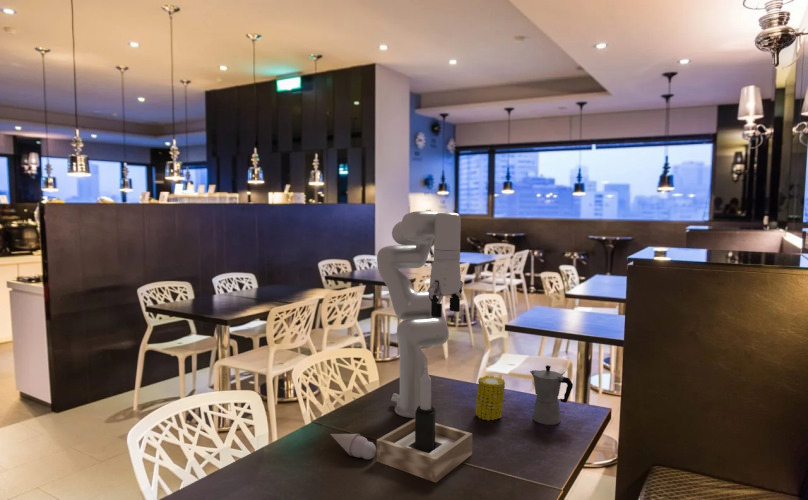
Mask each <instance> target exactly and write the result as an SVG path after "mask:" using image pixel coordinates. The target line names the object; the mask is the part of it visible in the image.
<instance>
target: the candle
mask: <svg viewBox="0 0 808 500" xmlns="http://www.w3.org/2000/svg"><path fill="white" fill-rule="evenodd" d="M424 369H425V370H424V373H423V376H422V377H421V379H420V406H418V408H417V410H416V412H415V449H417V450H420V451H423V452H426V453H430V452H432V451H433V450H435V423H436V408H434V406H433V405H432V378H431V376H430V375H429V370H428V371H427V367H424Z"/></svg>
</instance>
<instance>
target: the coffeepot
mask: <svg viewBox="0 0 808 500" xmlns="http://www.w3.org/2000/svg"><path fill="white" fill-rule="evenodd" d="M551 368H552V367H551V365H548V364H547V365H545V369H542V370H536V369H534V370H530V371H529V373H530V374H531V375H532V377H533V382H534V390H535V391H534V392H535V395H536V399H535V402H534V406H533V407H534V409H533V414H532V416H531V417H532V419H533V421H534V422H536V423H539V424H540V425H541V424H542V425H549V426H551V425H552V426H553V425H554V426H555V425H558V424H560V422H561V421H562V416H561V415H562V414H561V411H560V409H561V408H560V403H559V401H560V402H561V403H563V404H564V403H565V404H566V403H567V402H568V400H569V397H570V395H571V392H572V390H573V387H574V384H573V382H572V381H571V379H570V378H569V377H567V376H564V375H563V374H562V373H559V372H557V371H555V370H554V371H553V370H551ZM562 384H566V389H565V392H564V393H563V394H564V396H563V398H560V399H559V400H558V398H559V394H560V391H561V385H562Z"/></svg>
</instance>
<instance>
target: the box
mask: <svg viewBox="0 0 808 500" xmlns="http://www.w3.org/2000/svg"><path fill="white" fill-rule="evenodd" d="M472 455H473V433H471V432H468V431H465V430H461V429H459V428H454V427H451V426H447V425H444V424H440V423H437V422H435V450H433V451H432V452H430V453H426V452H423V451H420V450H417V449H415V418H412V419H411V420H409V421H408V422H405V423H404V424H402V425H400V426H399V427H397V428H395V429H393V430H391V431H390V432H389V433H386V434H385V435H382V436H381V437H379V438H377V439H376V462H378V463H381V464H382V465H385V466H389V467H390V468H391V467H392V468H394V469H397V470H400V471H403V472H405V473H407V474H411V475H412V476H413V475H414V476H416V477H418V478H422V479H424V480H427V481H430V482H432V483H438V482H439V481H440V480H442V479H443V478H445V476H446V475H448V474H449V473H451V471H453V470H454V469H456V468H457V467H458V466H460V465H461V464H462V463H463V462H464V461H466V460H467V459H468V458H470V456H472Z"/></svg>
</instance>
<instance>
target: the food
mask: <svg viewBox="0 0 808 500" xmlns="http://www.w3.org/2000/svg"><path fill="white" fill-rule="evenodd" d="M505 384H506V382H505V380H504V379H503V378H501V377H497V376H494V375H490V376H489V375H485V376H482V377H479V378H478V384H477V388H476V389H477V390H476V398H475V399H476V400H475V411H474V412H475V416H476V417H478V418H479V419H481V420H483V421H484V420H485V421H487V422H488V421H490V420H492V421H494V420H498V419H501V418H502V416H503V415H502V413H503V407H504V397H505V388H506V387H505Z"/></svg>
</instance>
